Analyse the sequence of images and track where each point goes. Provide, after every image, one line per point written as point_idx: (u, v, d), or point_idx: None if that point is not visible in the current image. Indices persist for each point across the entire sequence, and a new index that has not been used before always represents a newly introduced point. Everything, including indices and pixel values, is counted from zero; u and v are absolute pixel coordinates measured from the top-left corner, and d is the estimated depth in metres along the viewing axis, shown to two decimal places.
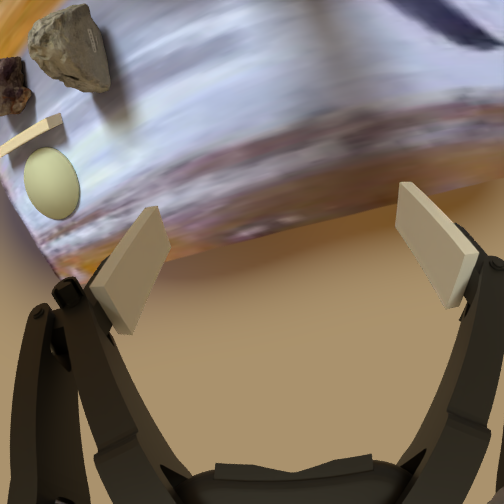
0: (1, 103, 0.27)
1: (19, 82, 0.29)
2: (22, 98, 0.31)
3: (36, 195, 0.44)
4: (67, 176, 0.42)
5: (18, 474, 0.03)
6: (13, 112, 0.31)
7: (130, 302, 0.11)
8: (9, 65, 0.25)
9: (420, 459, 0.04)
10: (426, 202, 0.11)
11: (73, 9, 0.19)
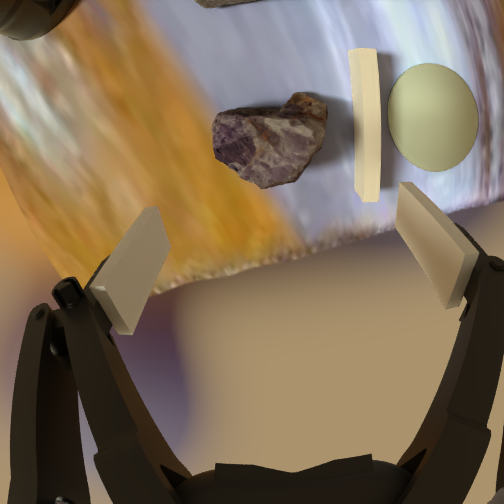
0: (303, 123, 0.25)
1: (272, 109, 0.28)
2: (304, 103, 0.27)
3: (443, 152, 0.30)
4: (435, 76, 0.24)
5: (18, 474, 0.03)
6: (324, 118, 0.27)
7: (130, 302, 0.11)
8: (234, 112, 0.27)
9: (420, 459, 0.04)
10: (426, 202, 0.11)
11: None
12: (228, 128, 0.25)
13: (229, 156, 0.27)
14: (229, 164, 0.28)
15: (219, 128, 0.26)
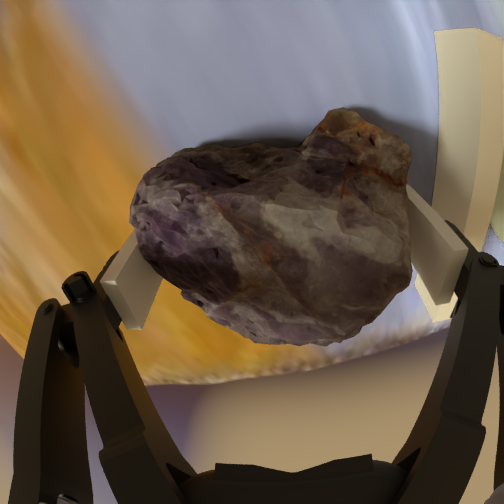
0: (371, 210, 0.09)
1: (281, 149, 0.13)
2: (357, 137, 0.12)
3: None
4: None
5: (21, 470, 0.03)
6: None
7: (140, 297, 0.11)
8: (186, 166, 0.11)
9: (415, 458, 0.04)
10: (417, 200, 0.11)
11: None
12: (164, 224, 0.10)
13: (180, 280, 0.12)
14: (183, 291, 0.13)
15: (145, 221, 0.10)
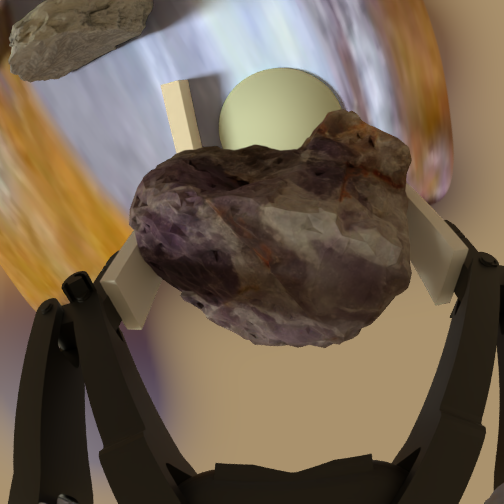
0: (370, 212, 0.09)
1: (280, 150, 0.13)
2: (357, 139, 0.12)
3: None
4: (273, 82, 0.28)
5: (21, 470, 0.03)
6: None
7: (140, 297, 0.11)
8: (185, 169, 0.11)
9: (415, 458, 0.04)
10: (417, 199, 0.11)
11: None
12: (164, 227, 0.10)
13: (180, 281, 0.12)
14: (183, 293, 0.13)
15: (145, 224, 0.10)
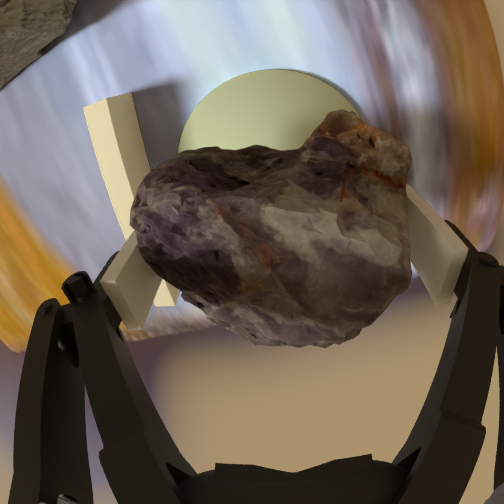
0: (370, 213, 0.09)
1: (281, 150, 0.13)
2: (357, 139, 0.12)
3: None
4: (261, 93, 0.18)
5: (21, 470, 0.03)
6: None
7: (140, 297, 0.11)
8: (185, 169, 0.11)
9: (415, 458, 0.04)
10: (417, 200, 0.11)
11: None
12: (164, 227, 0.10)
13: (180, 282, 0.12)
14: (184, 293, 0.13)
15: (145, 224, 0.10)
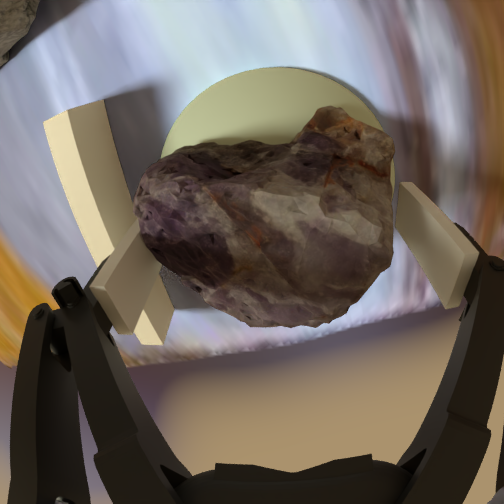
0: (353, 197, 0.10)
1: (273, 145, 0.13)
2: (344, 132, 0.12)
3: None
4: (261, 98, 0.14)
5: (18, 474, 0.03)
6: None
7: (130, 302, 0.11)
8: (184, 161, 0.12)
9: (420, 459, 0.04)
10: (426, 202, 0.11)
11: None
12: (164, 213, 0.11)
13: (180, 266, 0.13)
14: (183, 277, 0.14)
15: (147, 211, 0.11)
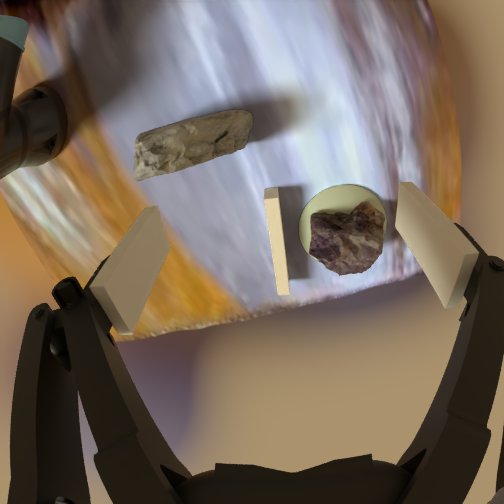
0: (372, 236, 0.38)
1: (347, 215, 0.41)
2: (369, 212, 0.40)
3: None
4: (341, 196, 0.42)
5: (18, 474, 0.03)
6: (383, 225, 0.40)
7: (130, 302, 0.11)
8: (324, 222, 0.40)
9: (420, 459, 0.04)
10: (426, 202, 0.11)
11: None
12: (323, 239, 0.39)
13: (321, 255, 0.41)
14: (319, 259, 0.42)
15: (317, 238, 0.39)
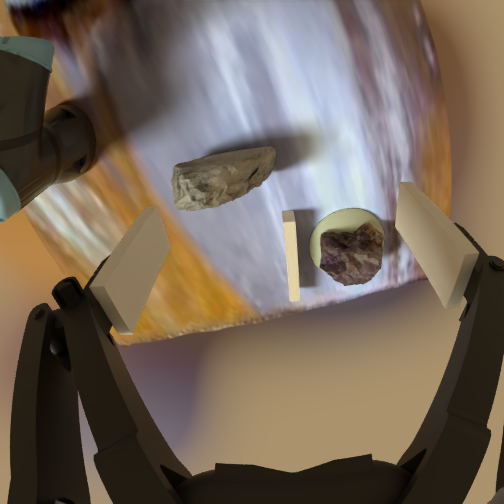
0: (373, 253, 0.45)
1: (351, 235, 0.49)
2: (371, 232, 0.48)
3: None
4: (347, 218, 0.49)
5: (18, 474, 0.03)
6: None
7: (130, 302, 0.11)
8: (333, 242, 0.47)
9: (420, 459, 0.04)
10: (426, 202, 0.11)
11: (177, 169, 0.36)
12: (332, 256, 0.46)
13: (329, 269, 0.48)
14: (328, 272, 0.49)
15: (327, 255, 0.46)
